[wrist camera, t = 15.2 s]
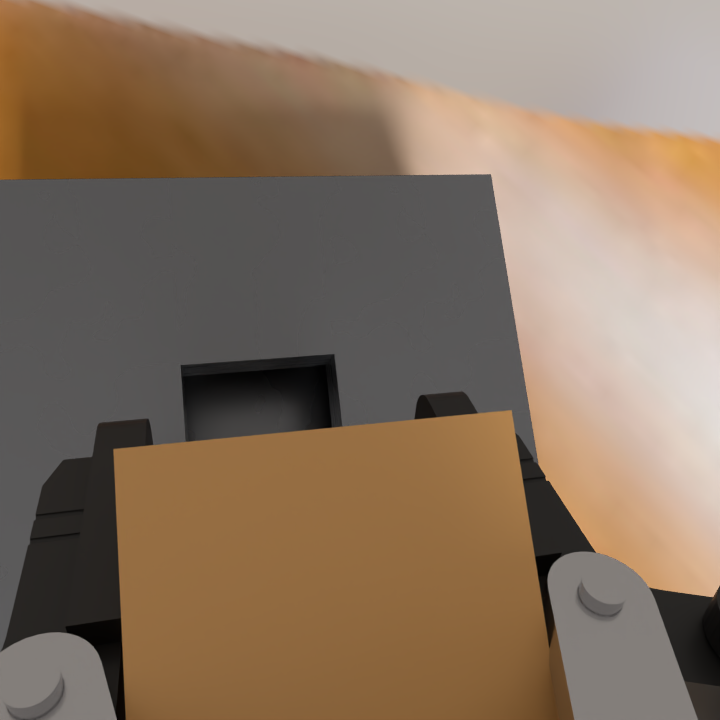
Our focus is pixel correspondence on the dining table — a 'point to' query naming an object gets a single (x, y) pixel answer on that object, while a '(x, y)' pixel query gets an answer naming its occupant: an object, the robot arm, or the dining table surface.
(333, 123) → the dining table surface
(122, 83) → the dining table surface
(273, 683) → the handle
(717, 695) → the robot arm
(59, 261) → the breaker box
